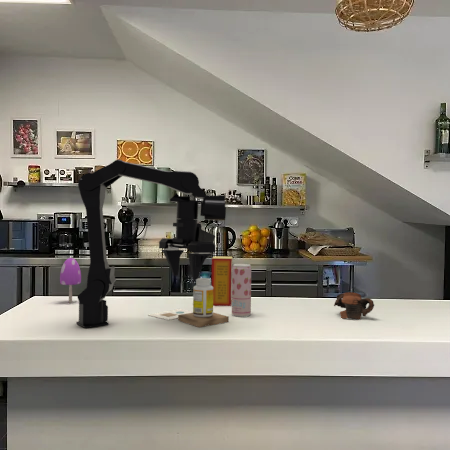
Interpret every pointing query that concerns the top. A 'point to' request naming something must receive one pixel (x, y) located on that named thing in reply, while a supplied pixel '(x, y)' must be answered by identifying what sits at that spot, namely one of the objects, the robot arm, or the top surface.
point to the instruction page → (170, 314)
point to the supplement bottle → (203, 298)
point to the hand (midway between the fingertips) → (185, 277)
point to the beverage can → (241, 290)
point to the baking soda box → (222, 280)
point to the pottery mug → (353, 305)
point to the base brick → (203, 319)
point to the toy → (70, 275)
